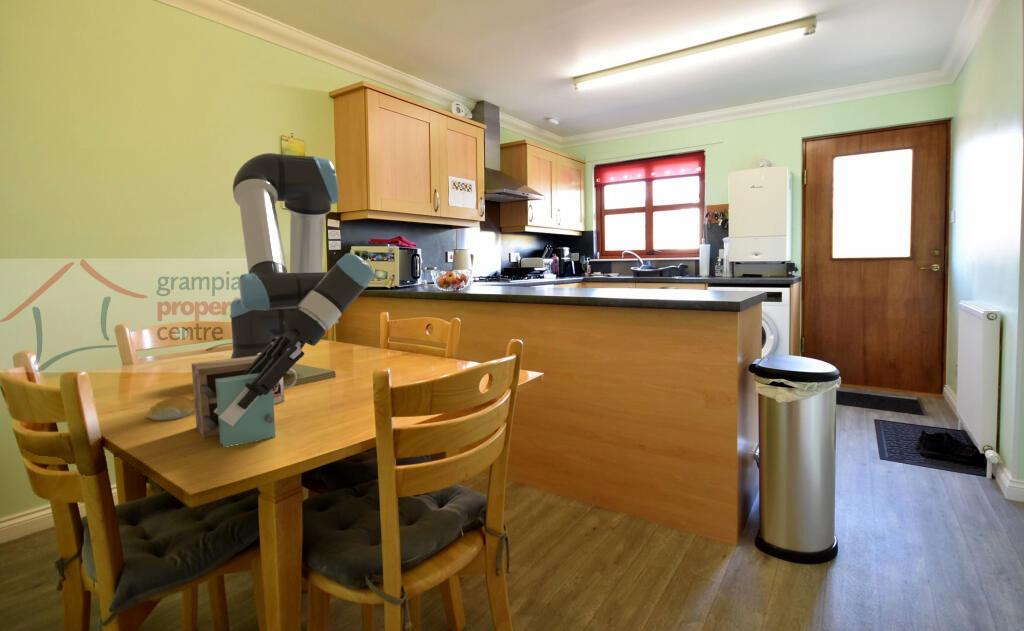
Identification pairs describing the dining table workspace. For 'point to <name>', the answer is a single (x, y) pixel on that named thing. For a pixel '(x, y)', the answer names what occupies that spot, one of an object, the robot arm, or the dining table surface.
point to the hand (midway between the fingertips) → (223, 418)
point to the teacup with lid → (282, 387)
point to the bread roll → (172, 408)
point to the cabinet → (213, 389)
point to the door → (253, 421)
